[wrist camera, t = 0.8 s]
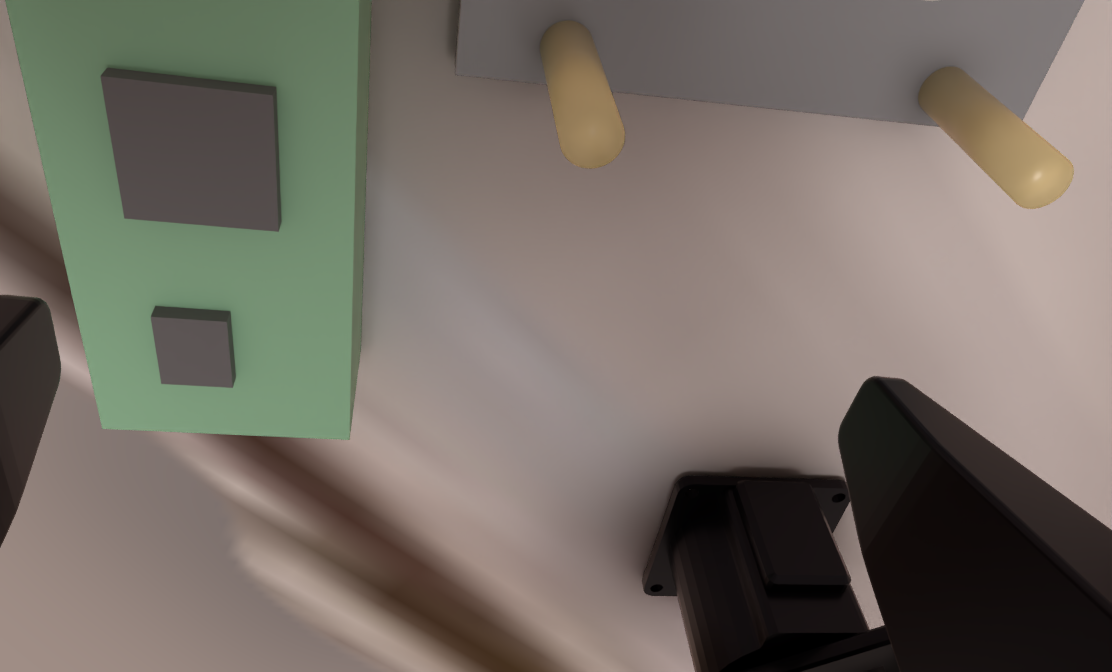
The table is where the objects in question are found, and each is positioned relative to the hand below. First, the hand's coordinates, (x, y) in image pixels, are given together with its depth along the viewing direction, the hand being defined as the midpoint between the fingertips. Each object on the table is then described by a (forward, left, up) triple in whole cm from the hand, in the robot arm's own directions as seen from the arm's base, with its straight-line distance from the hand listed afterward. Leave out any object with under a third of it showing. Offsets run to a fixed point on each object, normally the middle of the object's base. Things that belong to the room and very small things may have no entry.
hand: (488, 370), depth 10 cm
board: (-4, +5, -13) cm, 15 cm away
